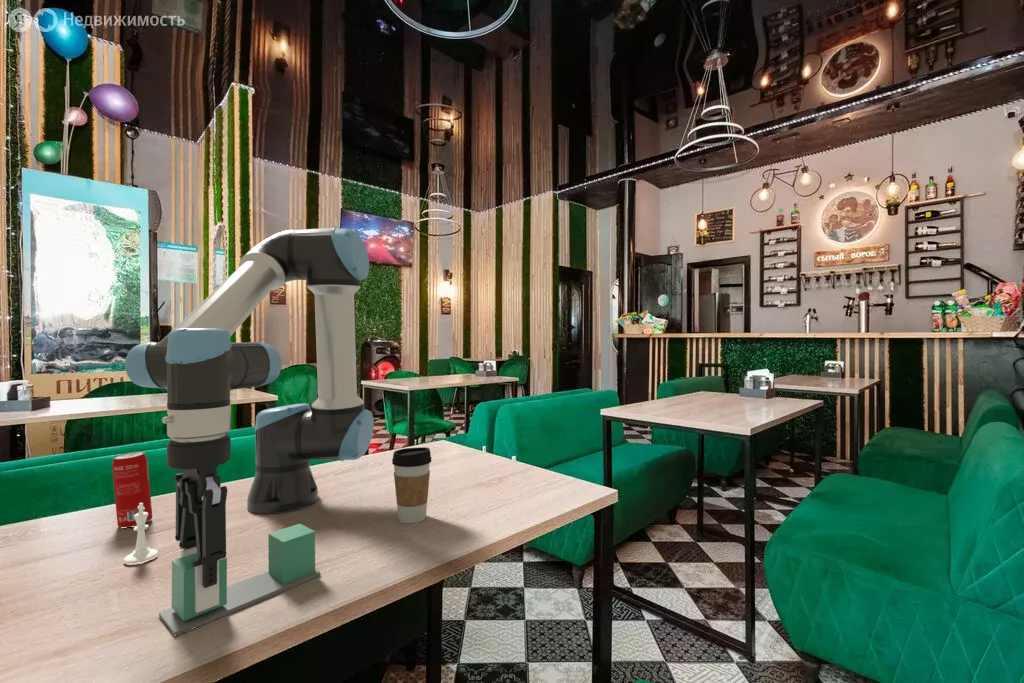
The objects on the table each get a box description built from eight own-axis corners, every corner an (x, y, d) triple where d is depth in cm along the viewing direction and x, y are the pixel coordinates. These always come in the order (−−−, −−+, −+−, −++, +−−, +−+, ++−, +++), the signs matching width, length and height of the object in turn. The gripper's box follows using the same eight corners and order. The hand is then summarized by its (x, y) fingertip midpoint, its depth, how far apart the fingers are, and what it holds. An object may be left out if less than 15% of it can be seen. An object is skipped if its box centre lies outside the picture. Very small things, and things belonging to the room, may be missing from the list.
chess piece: (129, 568, 78) (129, 510, 78) (118, 561, 81) (118, 504, 81) (163, 557, 82) (163, 501, 82) (152, 550, 85) (151, 496, 85)
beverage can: (158, 521, 99) (157, 451, 99) (122, 532, 93) (121, 458, 93) (142, 516, 101) (142, 449, 101) (106, 527, 95) (106, 455, 95)
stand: (159, 616, 64) (158, 565, 64) (299, 562, 80) (299, 521, 80) (174, 636, 60) (174, 582, 60) (320, 575, 75) (320, 531, 75)
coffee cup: (422, 527, 95) (422, 455, 95) (385, 524, 96) (384, 453, 96) (437, 512, 103) (437, 446, 103) (402, 510, 104) (402, 444, 104)
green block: (171, 607, 65) (171, 560, 65) (213, 591, 69) (213, 547, 69) (183, 621, 61) (183, 571, 61) (226, 604, 65) (226, 557, 65)
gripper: (149, 432, 68) (149, 589, 68) (190, 450, 56) (190, 639, 56) (207, 425, 74) (207, 570, 74) (254, 440, 62) (254, 611, 62)
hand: (199, 599), depth 65 cm, fingers closed on green block, 5 cm apart
